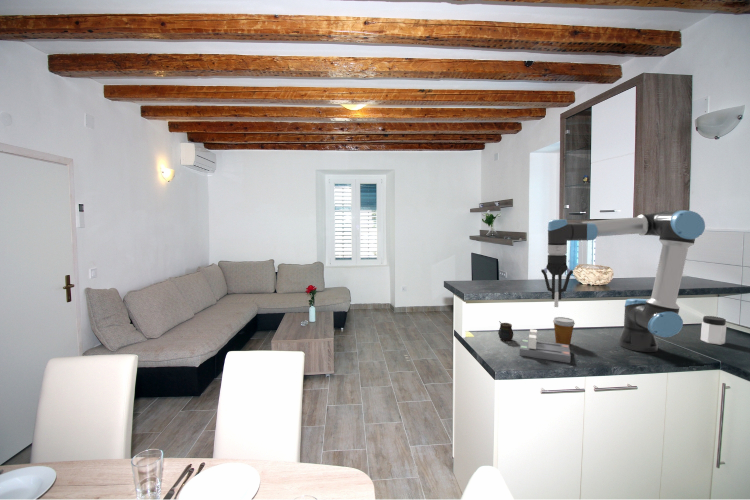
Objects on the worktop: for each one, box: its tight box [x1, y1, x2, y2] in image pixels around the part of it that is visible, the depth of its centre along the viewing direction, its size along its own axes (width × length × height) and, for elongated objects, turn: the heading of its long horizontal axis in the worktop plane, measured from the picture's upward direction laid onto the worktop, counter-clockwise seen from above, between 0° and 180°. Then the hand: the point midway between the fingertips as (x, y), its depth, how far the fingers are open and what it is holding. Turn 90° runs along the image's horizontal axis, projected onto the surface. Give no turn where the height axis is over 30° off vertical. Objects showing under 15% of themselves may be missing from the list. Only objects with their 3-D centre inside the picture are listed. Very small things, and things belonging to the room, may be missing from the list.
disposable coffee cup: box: [552, 316, 576, 346], centre depth 177 cm, size 10×10×12 cm
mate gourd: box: [497, 320, 514, 342], centre depth 183 cm, size 7×8×10 cm
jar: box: [700, 315, 727, 346], centre depth 179 cm, size 9×8×12 cm
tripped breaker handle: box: [528, 334, 536, 349], centre depth 163 cm, size 3×4×5 cm
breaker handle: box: [529, 328, 538, 343], centre depth 171 cm, size 3×4×5 cm
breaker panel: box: [519, 338, 571, 364], centre depth 165 cm, size 20×15×3 cm
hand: (556, 306), depth 163 cm, fingers closed
